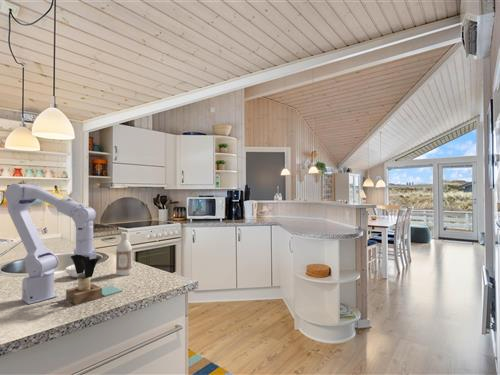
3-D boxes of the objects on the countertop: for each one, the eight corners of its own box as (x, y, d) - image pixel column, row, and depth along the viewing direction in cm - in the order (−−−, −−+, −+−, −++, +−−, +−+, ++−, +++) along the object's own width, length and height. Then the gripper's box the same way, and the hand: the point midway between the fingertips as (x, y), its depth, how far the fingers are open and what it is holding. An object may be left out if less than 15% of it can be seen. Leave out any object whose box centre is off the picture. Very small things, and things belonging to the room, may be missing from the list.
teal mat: (104, 296, 110) (104, 295, 110) (93, 291, 115) (93, 290, 115) (122, 291, 115) (122, 290, 115) (111, 286, 121) (111, 285, 121)
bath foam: (114, 276, 135) (114, 234, 135) (117, 272, 142) (118, 231, 142) (130, 275, 137) (130, 233, 137) (132, 271, 144) (133, 231, 144)
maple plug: (80, 301, 106) (80, 276, 106) (76, 298, 108) (76, 274, 108) (92, 297, 109) (92, 274, 109) (87, 295, 111) (87, 272, 111)
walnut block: (76, 305, 102) (76, 295, 102) (66, 298, 108) (66, 289, 108) (101, 297, 109) (102, 288, 109) (91, 292, 115) (91, 283, 115)
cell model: (62, 277, 134) (62, 262, 134) (89, 271, 143) (89, 258, 143) (69, 281, 127) (69, 266, 127) (98, 275, 136) (98, 261, 136)
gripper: (104, 239, 107) (104, 276, 107) (87, 235, 116) (87, 269, 116) (84, 242, 102) (84, 281, 101) (67, 238, 110) (67, 273, 110)
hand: (84, 275), depth 108 cm, fingers open, 7 cm apart
